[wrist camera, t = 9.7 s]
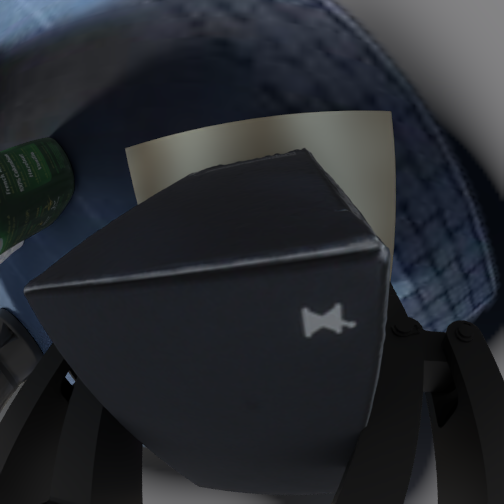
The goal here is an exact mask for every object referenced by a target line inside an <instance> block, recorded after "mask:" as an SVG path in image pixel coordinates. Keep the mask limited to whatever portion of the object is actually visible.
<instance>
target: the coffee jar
mask: <svg viewBox="0 0 504 504" xmlns="http://www.w3.org/2000/svg"><path fill="white" fill-rule="evenodd" d="M73 192H74V175H73V171H72V168H71V164H70V162H69V160H68V157H67V155H66V154H65V152H64V150H63V149H62V147H61V146H60V145H59V144H58V143H57V141H55V140H54V139H52V138H42V139H38V140H34V141H30V142H26V143H23V144H20V145H18V146H15V147H12V148H9V149H6V150H4V151H1V152H0V255H1V254H3V253H4V252H6V251H7V250H9V249H10V248H12V247H14V246H15V245H17V244H18V243H20V242H22V241H23V240H25V239H27V238H29V237H30V236H32V235H34V234H36V233H37V232H39V231H41V230H43V229H44V228H46V227H48V226H49V225H50V224H52V223H53V222H54V221H55V220H56V219H57V218H58V216H59V215H60V214H61V213H62V211H63V210H64V208H65V207H66V206H67V204H68V202H69V200H70V199H71V197H72V195H73Z"/></svg>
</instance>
